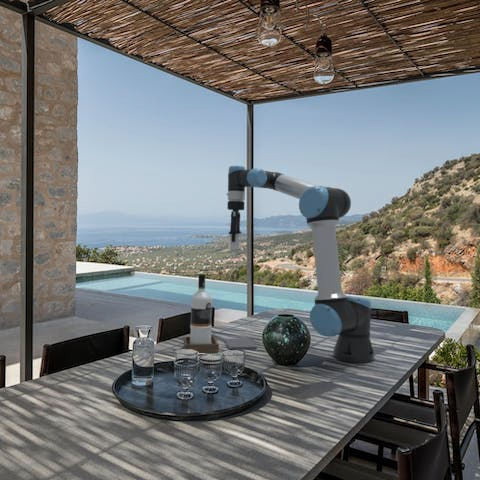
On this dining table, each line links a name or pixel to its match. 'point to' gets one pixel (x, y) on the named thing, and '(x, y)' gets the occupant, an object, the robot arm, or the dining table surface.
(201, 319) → the vodka
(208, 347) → the bottle well
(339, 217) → the robot arm
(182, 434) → the dining table surface
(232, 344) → the slate board
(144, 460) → the dining table surface
